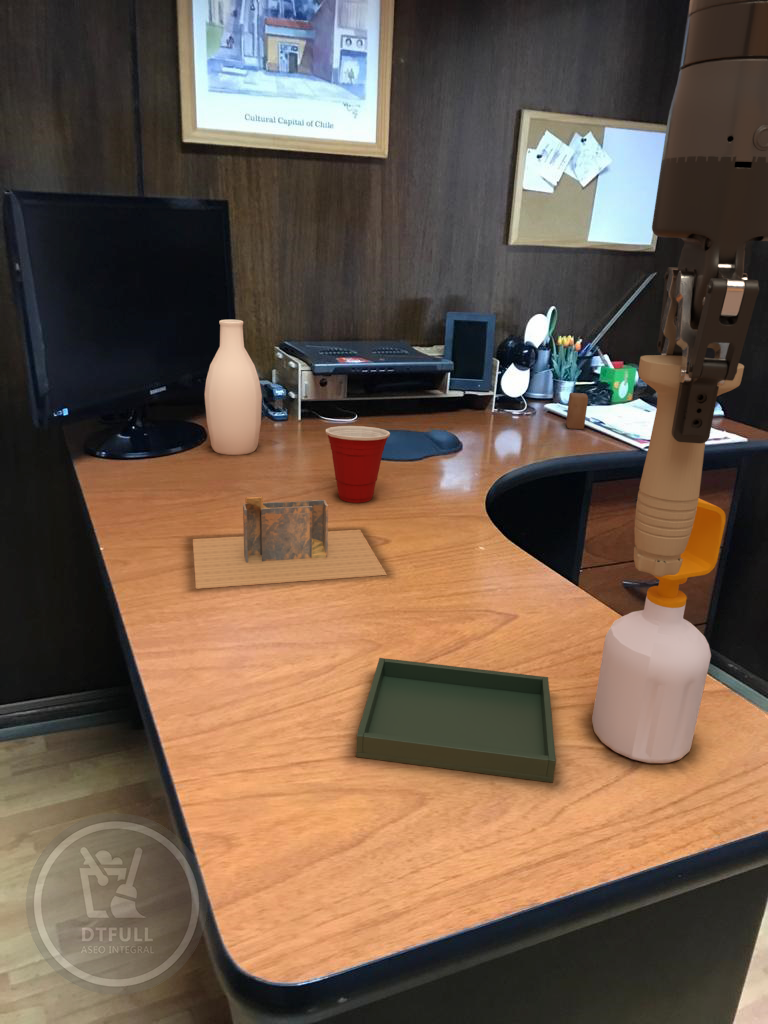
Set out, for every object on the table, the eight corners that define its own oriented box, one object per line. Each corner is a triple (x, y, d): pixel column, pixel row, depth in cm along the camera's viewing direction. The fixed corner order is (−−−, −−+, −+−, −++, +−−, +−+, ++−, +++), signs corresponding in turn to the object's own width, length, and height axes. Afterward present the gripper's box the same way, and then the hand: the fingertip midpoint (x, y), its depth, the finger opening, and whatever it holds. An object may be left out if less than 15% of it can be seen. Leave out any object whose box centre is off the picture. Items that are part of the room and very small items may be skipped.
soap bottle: (572, 717, 75) (608, 477, 67) (647, 699, 79) (691, 469, 70) (632, 775, 68) (681, 513, 59) (712, 753, 71) (770, 502, 62)
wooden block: (566, 428, 184) (571, 395, 182) (565, 424, 188) (569, 392, 185) (583, 430, 184) (588, 396, 181) (582, 426, 188) (586, 393, 185)
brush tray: (545, 696, 79) (548, 676, 78) (552, 782, 66) (556, 760, 65) (378, 676, 81) (379, 657, 80) (355, 757, 68) (356, 735, 68)
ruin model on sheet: (195, 588, 98) (192, 517, 94) (192, 539, 113) (189, 475, 109) (386, 574, 104) (390, 507, 100) (360, 529, 119) (362, 469, 115)
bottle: (262, 456, 152) (260, 325, 143) (204, 457, 151) (199, 324, 142) (262, 441, 163) (260, 318, 154) (208, 441, 161) (203, 316, 152)
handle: (708, 589, 53) (751, 371, 48) (611, 577, 54) (644, 364, 49) (696, 561, 58) (735, 359, 52) (608, 551, 59) (637, 353, 54)
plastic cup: (390, 489, 137) (393, 423, 133) (383, 510, 127) (386, 439, 123) (330, 484, 138) (331, 419, 134) (318, 505, 128) (319, 434, 124)
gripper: (643, 163, 54) (609, 404, 60) (689, 141, 40) (640, 455, 46) (757, 166, 53) (711, 411, 59) (842, 145, 39) (772, 465, 45)
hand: (680, 429), depth 52 cm, fingers closed on handle, 5 cm apart
